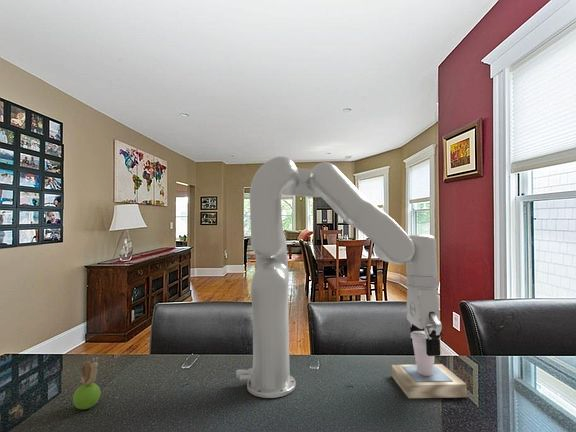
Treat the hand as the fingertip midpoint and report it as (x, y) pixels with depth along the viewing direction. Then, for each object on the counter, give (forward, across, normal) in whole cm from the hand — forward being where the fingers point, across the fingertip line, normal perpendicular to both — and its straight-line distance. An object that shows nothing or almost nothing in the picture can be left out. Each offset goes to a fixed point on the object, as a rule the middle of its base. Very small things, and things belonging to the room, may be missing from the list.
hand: (424, 348), depth 81 cm
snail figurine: (+10, +8, -82) cm, 83 cm away
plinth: (+9, 0, 0) cm, 9 cm away
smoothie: (+6, 0, 0) cm, 6 cm away
